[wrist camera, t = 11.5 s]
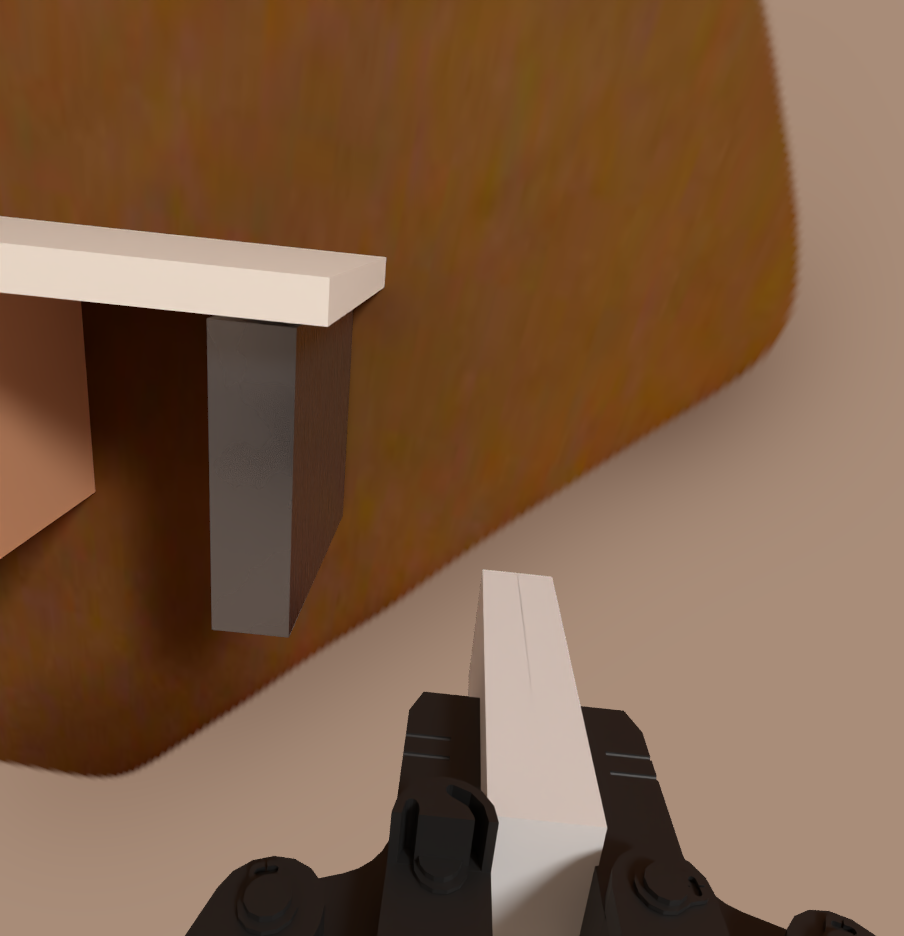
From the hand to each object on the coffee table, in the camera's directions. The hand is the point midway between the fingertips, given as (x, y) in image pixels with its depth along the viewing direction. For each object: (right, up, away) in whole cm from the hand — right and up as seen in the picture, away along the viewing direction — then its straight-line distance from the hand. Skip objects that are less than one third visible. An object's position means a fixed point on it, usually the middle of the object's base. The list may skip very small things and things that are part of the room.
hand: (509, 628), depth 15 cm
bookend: (-7, +6, +15) cm, 18 cm away
